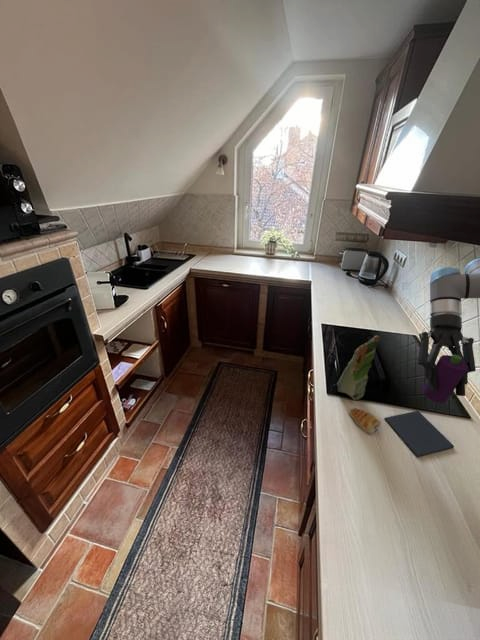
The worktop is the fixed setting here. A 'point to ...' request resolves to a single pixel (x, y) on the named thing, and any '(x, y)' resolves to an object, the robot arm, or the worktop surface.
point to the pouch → (358, 370)
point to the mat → (418, 433)
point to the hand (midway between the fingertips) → (446, 393)
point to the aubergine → (446, 377)
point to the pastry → (365, 420)
